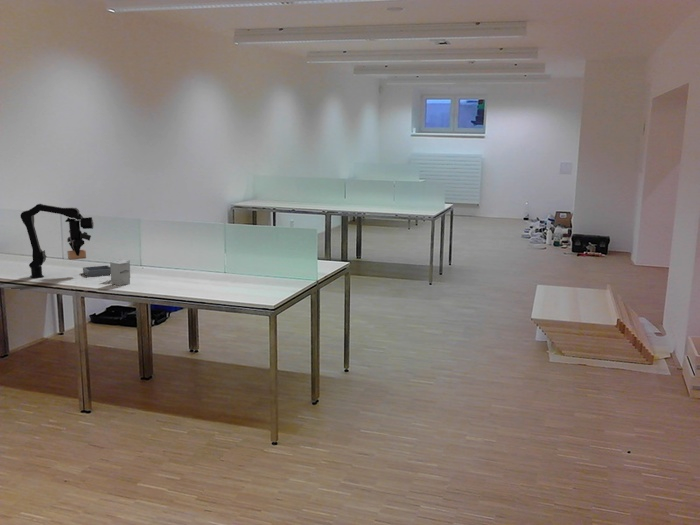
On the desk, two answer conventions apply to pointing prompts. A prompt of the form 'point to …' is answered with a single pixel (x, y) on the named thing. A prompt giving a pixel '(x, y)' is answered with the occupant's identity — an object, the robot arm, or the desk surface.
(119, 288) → the desk surface
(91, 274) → the big crate
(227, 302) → the desk surface
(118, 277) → the supplement box
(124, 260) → the light bulb box
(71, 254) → the small crate
